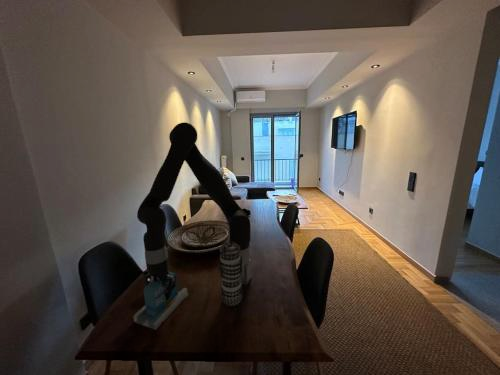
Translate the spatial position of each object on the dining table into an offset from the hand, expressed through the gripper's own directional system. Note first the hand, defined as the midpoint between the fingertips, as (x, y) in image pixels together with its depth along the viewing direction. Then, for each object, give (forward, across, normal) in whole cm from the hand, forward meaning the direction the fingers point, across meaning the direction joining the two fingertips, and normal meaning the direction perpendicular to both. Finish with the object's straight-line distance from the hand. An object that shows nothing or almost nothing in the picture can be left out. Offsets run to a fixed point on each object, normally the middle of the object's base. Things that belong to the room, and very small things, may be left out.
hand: (161, 296), depth 80 cm
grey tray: (+6, 0, 0) cm, 6 cm away
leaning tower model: (+6, -24, -13) cm, 28 cm away
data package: (+5, 0, 0) cm, 5 cm away
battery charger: (+6, +11, -108) cm, 109 cm away
